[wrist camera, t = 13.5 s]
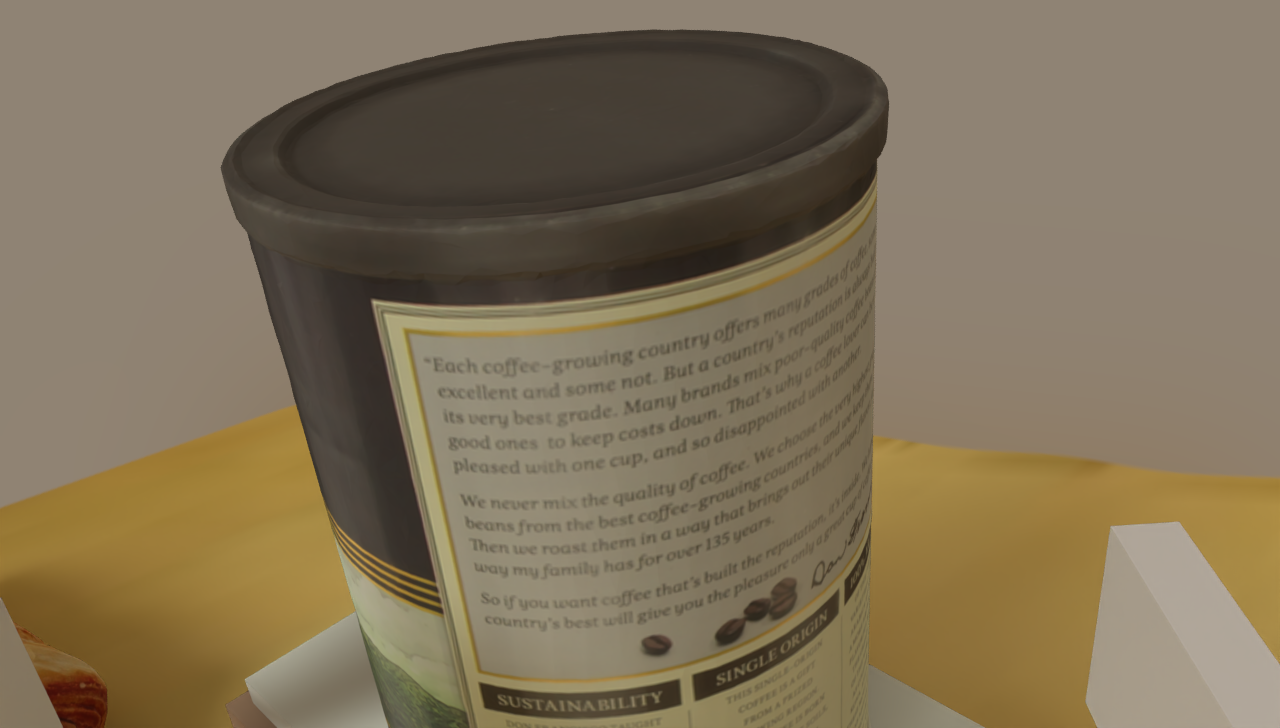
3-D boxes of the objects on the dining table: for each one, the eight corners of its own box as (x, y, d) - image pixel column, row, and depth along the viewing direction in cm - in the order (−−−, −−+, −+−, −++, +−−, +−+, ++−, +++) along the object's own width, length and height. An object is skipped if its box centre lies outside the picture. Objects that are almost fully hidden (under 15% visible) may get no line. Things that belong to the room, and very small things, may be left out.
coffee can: (298, 847, 22) (62, 185, 15) (552, 547, 30) (469, 25, 23) (779, 1054, 18) (739, 255, 11) (927, 639, 26) (956, 28, 19)
